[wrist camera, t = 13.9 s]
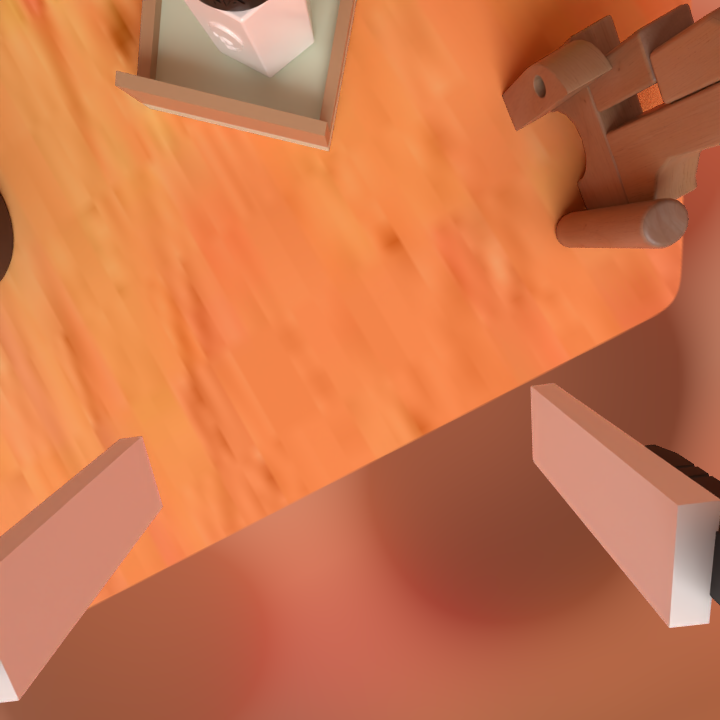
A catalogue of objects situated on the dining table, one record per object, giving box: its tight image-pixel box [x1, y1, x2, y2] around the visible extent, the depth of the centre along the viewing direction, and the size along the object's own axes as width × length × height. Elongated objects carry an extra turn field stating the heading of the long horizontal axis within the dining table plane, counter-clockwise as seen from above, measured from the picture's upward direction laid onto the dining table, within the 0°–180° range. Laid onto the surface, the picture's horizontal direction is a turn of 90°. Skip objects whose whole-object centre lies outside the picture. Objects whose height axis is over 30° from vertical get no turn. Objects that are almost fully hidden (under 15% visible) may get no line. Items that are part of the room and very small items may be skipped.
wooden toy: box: [502, 4, 720, 248], centre depth 26 cm, size 16×7×25 cm, turn 29°
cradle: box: [115, 0, 357, 151], centre depth 33 cm, size 16×14×6 cm
